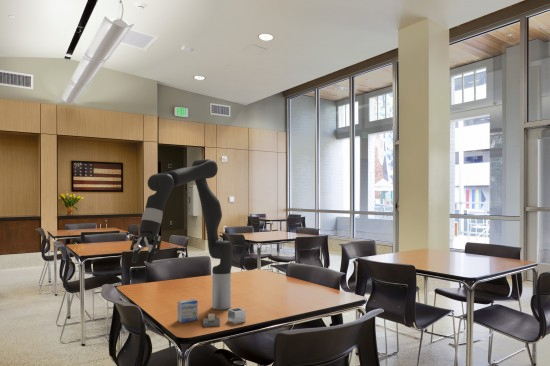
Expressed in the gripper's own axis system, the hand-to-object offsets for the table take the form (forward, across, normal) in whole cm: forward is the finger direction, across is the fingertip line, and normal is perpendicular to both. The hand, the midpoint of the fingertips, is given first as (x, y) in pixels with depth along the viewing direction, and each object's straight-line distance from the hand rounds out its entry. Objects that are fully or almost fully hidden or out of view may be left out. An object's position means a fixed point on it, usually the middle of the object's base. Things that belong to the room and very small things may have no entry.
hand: (141, 262), depth 148 cm
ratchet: (+18, -3, -42) cm, 46 cm away
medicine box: (+19, +7, -37) cm, 42 cm away
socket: (+16, -13, -48) cm, 52 cm away
